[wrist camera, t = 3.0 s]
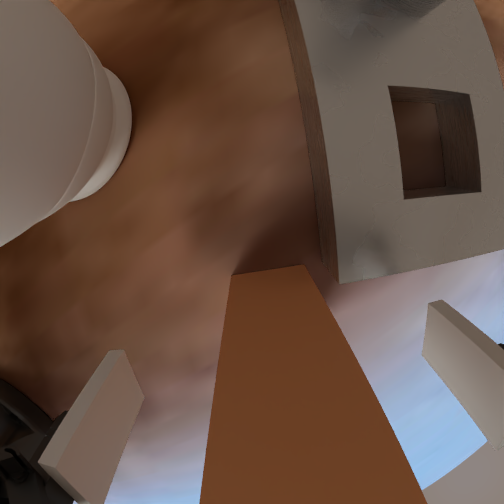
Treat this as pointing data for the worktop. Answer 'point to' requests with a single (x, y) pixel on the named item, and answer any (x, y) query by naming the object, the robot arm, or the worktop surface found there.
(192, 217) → the worktop surface
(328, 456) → the orange square bar
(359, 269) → the plate with square hole
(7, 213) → the jar
